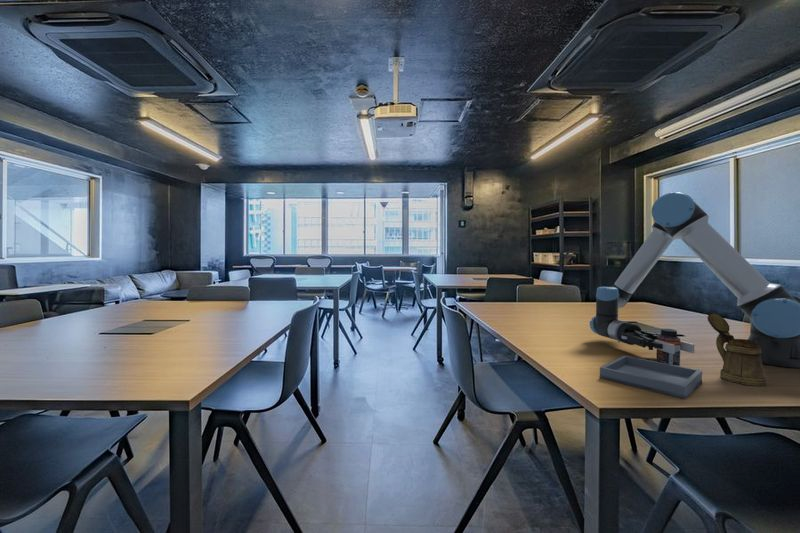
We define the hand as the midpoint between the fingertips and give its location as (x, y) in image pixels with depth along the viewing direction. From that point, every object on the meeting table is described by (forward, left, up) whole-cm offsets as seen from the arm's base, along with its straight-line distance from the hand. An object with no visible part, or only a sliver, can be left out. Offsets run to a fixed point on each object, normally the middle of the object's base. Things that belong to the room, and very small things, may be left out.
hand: (683, 349), depth 106 cm
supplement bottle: (+4, -3, -7) cm, 8 cm away
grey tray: (+4, +17, -7) cm, 18 cm away
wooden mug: (-11, -4, -7) cm, 13 cm away
